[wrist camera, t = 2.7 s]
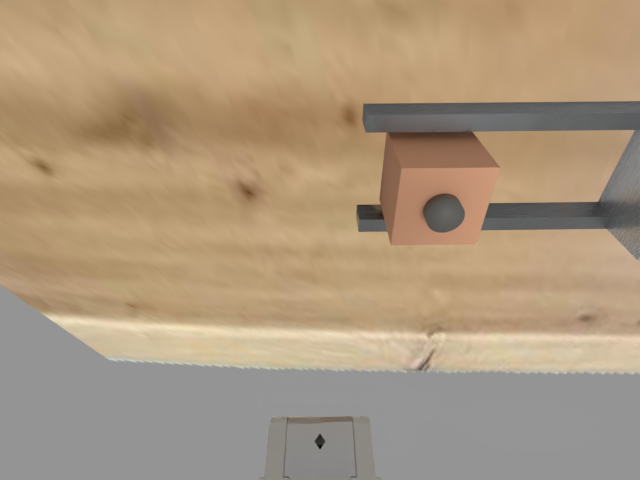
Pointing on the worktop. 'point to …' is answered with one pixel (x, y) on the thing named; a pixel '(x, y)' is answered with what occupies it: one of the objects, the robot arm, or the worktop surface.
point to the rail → (626, 180)
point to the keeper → (435, 187)
